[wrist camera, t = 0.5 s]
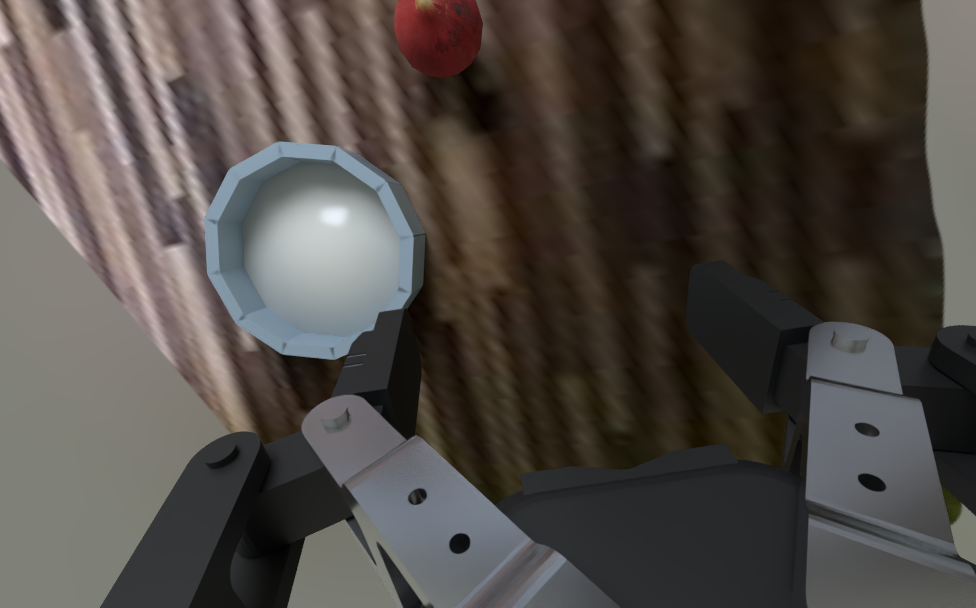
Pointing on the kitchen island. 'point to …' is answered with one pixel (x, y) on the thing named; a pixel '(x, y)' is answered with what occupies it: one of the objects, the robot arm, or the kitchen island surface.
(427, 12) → the onion
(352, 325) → the faceted shallow dish
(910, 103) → the kitchen island surface
